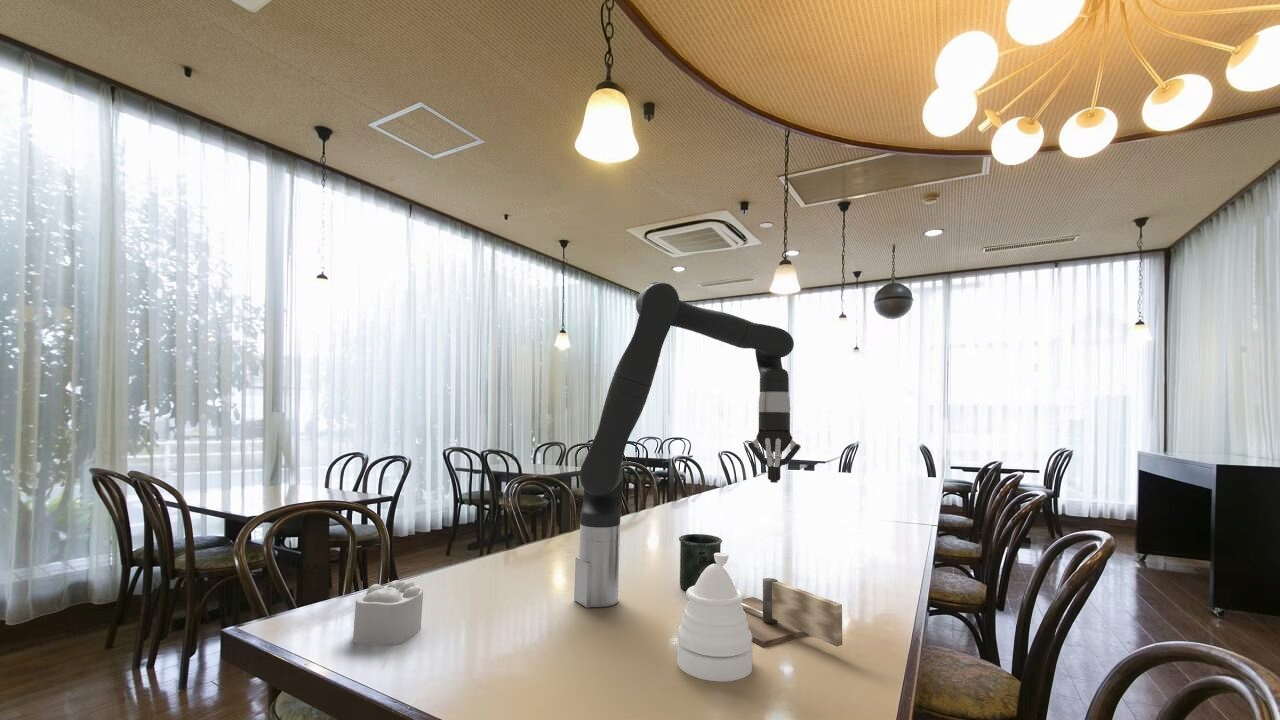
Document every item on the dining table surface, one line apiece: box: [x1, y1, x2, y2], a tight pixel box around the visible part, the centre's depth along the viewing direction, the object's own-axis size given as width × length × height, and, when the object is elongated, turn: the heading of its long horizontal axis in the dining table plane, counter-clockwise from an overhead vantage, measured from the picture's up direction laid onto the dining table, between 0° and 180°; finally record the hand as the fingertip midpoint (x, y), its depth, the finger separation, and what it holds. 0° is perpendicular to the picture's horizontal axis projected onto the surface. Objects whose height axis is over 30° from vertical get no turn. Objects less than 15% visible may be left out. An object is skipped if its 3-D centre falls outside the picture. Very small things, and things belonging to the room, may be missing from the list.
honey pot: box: [676, 552, 753, 682], centre depth 96 cm, size 13×13×18 cm
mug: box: [678, 533, 723, 592], centre depth 137 cm, size 11×15×12 cm
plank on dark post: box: [741, 577, 843, 647], centre depth 111 cm, size 28×3×8 cm, turn 32°
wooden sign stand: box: [741, 596, 810, 648], centre depth 116 cm, size 17×20×1 cm
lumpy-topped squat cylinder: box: [352, 579, 424, 647], centre depth 107 cm, size 10×13×9 cm
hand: (774, 482), depth 134 cm, fingers closed
